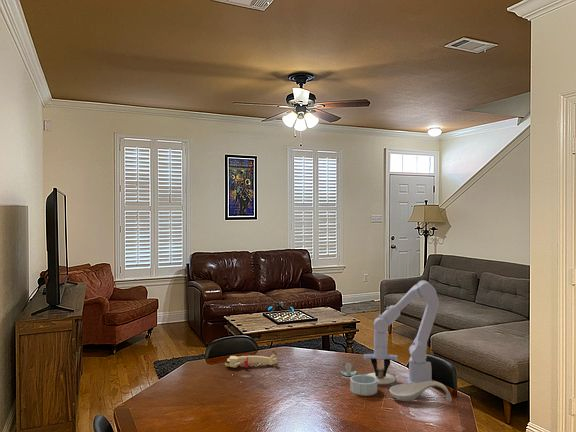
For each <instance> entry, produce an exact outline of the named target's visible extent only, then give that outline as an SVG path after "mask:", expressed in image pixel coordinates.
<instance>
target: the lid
mask: <svg viewBox="0 0 576 432" xmlns="http://www.w3.org/2000/svg"><path fill="white" fill-rule="evenodd" d="M369 373H370V374H367V375H370V376H373V377H375V378H377V384H391V383H393V382H395V380H396V379H397V378H396V379H395V377H394V376H393V375H390V374H391V373H387V372H386V377H384V368H377V377H376V376H375V372H369Z"/></svg>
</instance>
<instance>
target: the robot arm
mask: <svg viewBox="0 0 576 432" xmlns="http://www.w3.org/2000/svg"><path fill="white" fill-rule="evenodd" d="M421 298H423V299H424V301H425V303H426V306H425V308H424V312H423V315H422V318H421V321H420V325H419V327H418V331H417V334H416V335H415V338H414V340H413V342H412V344H411V345H410V346H409V347H408V352H409V354H410V357H409V359H408V376H407V377H406V379H407V380H408V384H412V383H420V382H425V381H433V380H432V377H433V376H432V370H433V369H432V363H431V361H427V358H428V357H427V350H428V342H429V338H430V335H431V333H432V328H433V325H434V322H435V320H436V316H437V313H438V310H439V307H440V300H439V298H438V294H437V290H436V288H435V287H434V286H433V285H432V284H431V283H430V282H429V281H427V280H425V279H422V280H419V281H418V282H417V283H416V284H414V285H413V286H412V287H411V288H410V289H409V290H408V291H407V292H406V293H405V294H404V296H402V297H401V299H399V300H398V302H397V303H396V304H395V305H393V304H392V305H389V306H386V307H385V310H384V312H382V313H381V314H379V315H378V317H376V318H375V319H374V320H373V321H374V322H373V323H372V324H373V328H374V331H373V353H364V354H363V360H365V361H366V360H370V361H371V365H372V367H373V370H374V373H375V376H376V377H377V369H378V361H382V360H383V369H384V377H386V373H387V371H388V369H389V367H390V365H391V361H398V354H388V335H387V331H388V330H389V326H391V325H392V324H393V323H394V322H395V321H396V320H397V319H398V318H399V317H400V316H401V311H402V310H403V309H404V308H405V307H407V306H408V305H409V304H410V303H411V302H413V300H417V299H419V300H420V299H421ZM377 360H378V361H377Z"/></svg>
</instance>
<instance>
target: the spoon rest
mask: <svg viewBox="0 0 576 432" xmlns="http://www.w3.org/2000/svg"><path fill="white" fill-rule="evenodd" d="M432 387H438V388H440V389H442V390H443V391H444V392H445V396H446V400H447V401H448V402H449V403H452V401H453V400H452V395H451V393H450V391H449V390H448V388H447V387H446V385H444V384H443V382H442V383H441V382H439V381H437V380H436V381H435V380H432V381H425V382H420V383H412V384H410V383H401V384H398V385H391V386H390V387H389V393H390V395H391V396H392V397H394V398H395V399H396V400H398V401H401V402H407V403H409V402H413V401H414V400H416V399H418V397H419V396H420V395H421V394H423V392H425V391H426V390H427V389H429V388H432Z"/></svg>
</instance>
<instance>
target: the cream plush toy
mask: <svg viewBox="0 0 576 432" xmlns="http://www.w3.org/2000/svg"><path fill="white" fill-rule="evenodd" d="M271 353H272V355H270V357H268V356H264V355H248V353H245V355H241V356H237V355H230V356H229V358H227V359H225V361H226V362H225V363H224V365H225V367H228V368H238V366H240V365H244V367H245V368H246V369H248V366H249V364H261V365H268V366H274V367H278V360H277V358H276V356H277V355H278V352H277V351H276V350H275V349H271Z"/></svg>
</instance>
